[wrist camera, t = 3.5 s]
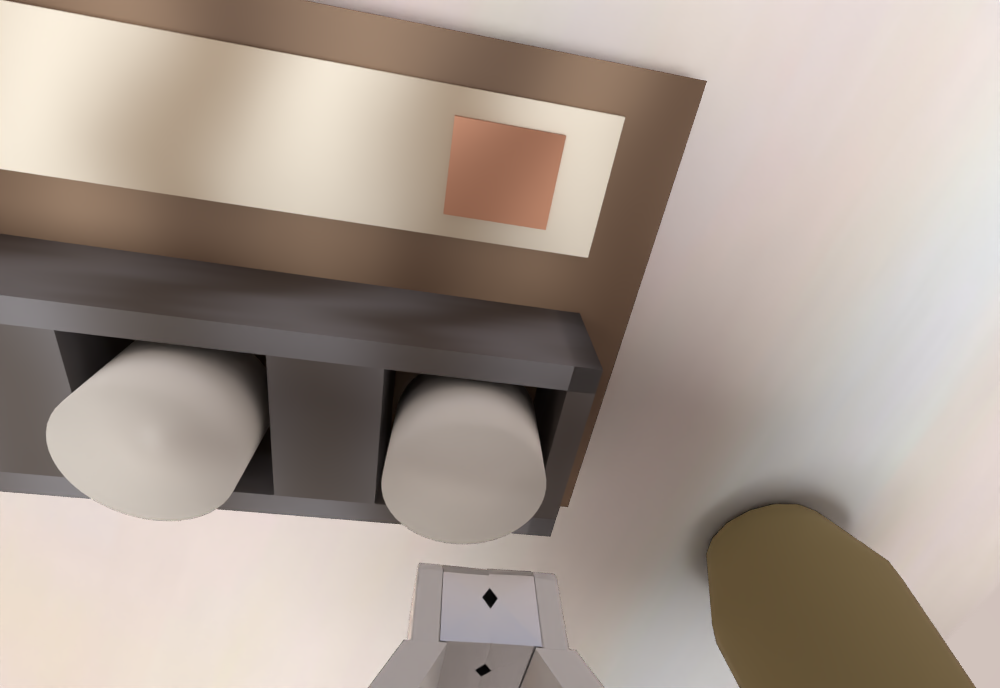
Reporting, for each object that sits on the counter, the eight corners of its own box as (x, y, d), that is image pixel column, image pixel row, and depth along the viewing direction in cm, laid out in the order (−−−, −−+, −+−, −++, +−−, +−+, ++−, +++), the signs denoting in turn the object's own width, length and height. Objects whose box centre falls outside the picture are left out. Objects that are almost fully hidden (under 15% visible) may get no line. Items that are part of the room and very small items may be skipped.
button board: (686, 78, 15) (774, 88, 11) (562, 480, 23) (583, 582, 18) (-374, -134, 12) (-869, -244, 7) (-102, 417, 19) (-268, 521, 15)
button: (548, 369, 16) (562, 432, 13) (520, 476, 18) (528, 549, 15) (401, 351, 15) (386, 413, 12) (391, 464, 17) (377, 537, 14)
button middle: (274, 336, 15) (230, 397, 12) (279, 453, 17) (243, 527, 14) (107, 315, 14) (23, 374, 11) (135, 439, 16) (69, 513, 14)
